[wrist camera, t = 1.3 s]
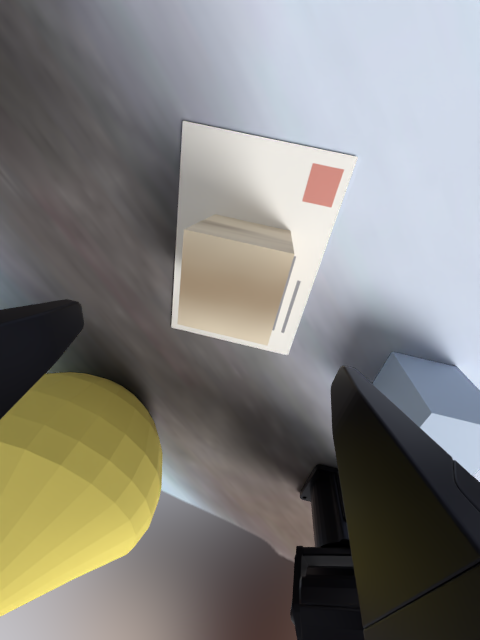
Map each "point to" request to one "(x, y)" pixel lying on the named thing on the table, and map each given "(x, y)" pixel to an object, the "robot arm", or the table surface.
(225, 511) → the table surface
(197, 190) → the letter
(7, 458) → the vase
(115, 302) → the table surface
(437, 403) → the cube
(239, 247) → the block
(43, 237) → the table surface
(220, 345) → the table surface
